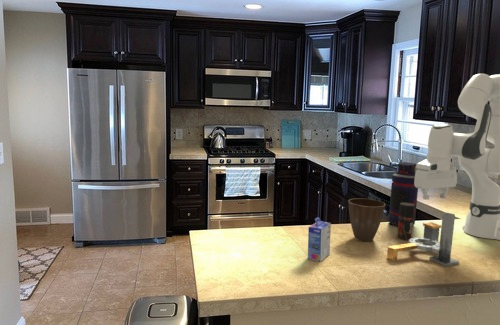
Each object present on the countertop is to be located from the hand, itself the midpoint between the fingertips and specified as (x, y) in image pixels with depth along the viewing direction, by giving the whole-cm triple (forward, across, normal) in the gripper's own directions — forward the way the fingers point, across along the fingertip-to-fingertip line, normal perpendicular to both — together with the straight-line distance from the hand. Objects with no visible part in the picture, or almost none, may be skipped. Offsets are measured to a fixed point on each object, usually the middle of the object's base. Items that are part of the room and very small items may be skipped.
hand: (434, 198), depth 167 cm
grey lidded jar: (+20, 0, 0) cm, 20 cm away
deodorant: (+20, +3, -11) cm, 23 cm away
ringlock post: (+20, +15, +10) cm, 27 cm away
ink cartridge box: (+20, +51, -6) cm, 55 cm away
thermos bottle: (+20, -12, -27) cm, 36 cm away
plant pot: (+20, +21, -16) cm, 33 cm away
